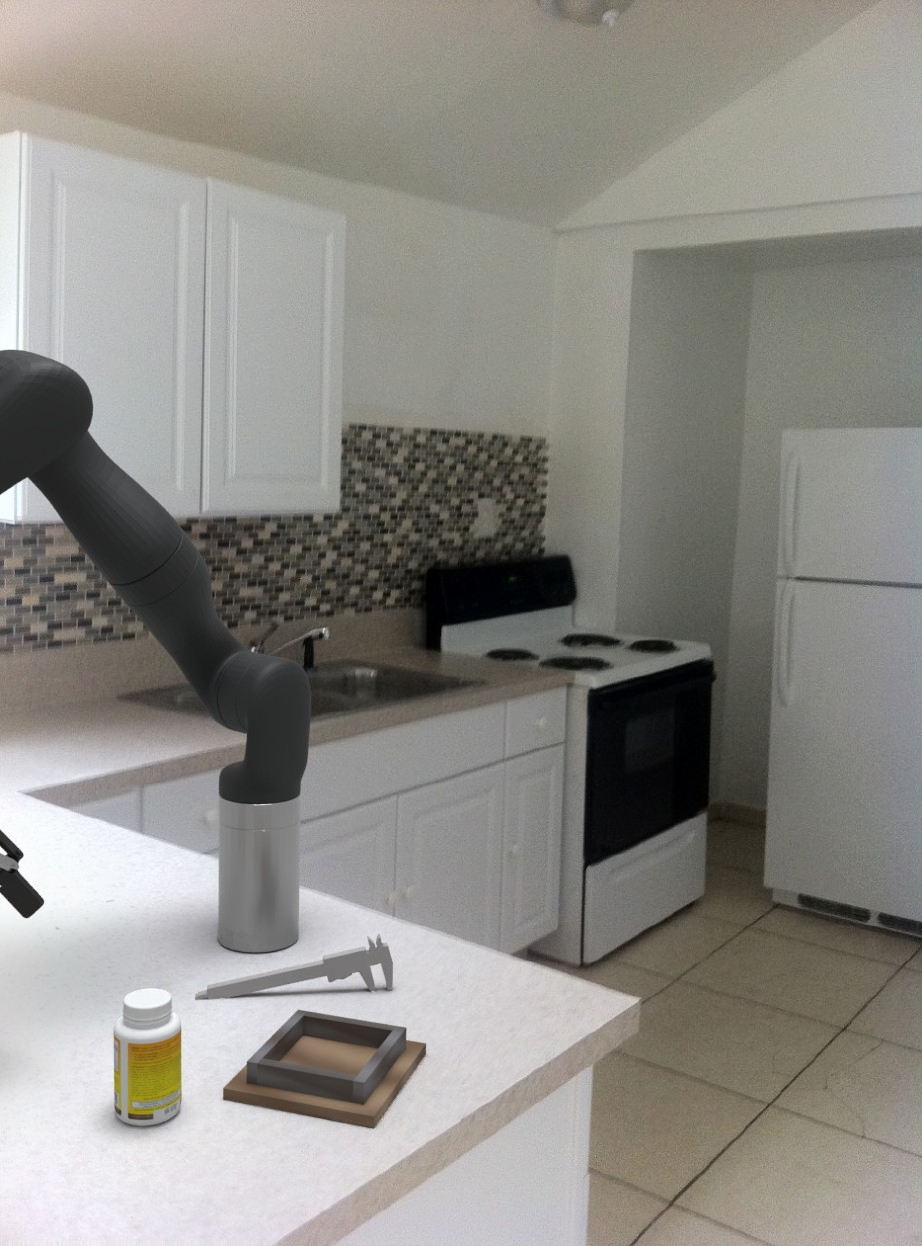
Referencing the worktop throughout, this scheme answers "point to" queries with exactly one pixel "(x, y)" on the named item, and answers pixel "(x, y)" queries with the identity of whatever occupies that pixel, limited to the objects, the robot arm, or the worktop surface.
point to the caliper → (312, 972)
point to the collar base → (329, 1068)
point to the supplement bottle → (147, 1059)
